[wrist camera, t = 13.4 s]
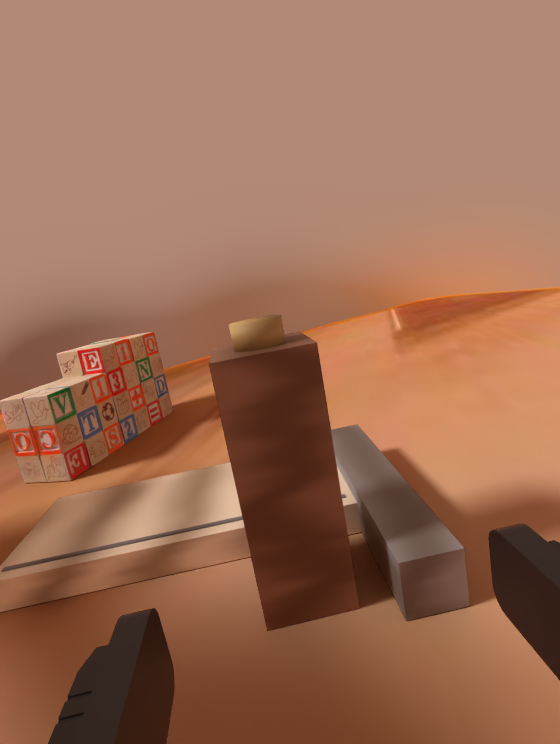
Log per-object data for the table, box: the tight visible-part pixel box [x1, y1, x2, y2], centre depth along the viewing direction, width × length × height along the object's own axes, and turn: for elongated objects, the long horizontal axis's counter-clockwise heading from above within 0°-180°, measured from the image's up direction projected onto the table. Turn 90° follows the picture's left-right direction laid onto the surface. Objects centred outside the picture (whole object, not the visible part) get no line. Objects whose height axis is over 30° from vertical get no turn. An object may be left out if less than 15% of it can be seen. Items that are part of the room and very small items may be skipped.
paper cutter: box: [0, 425, 470, 621], centre depth 26 cm, size 25×17×3 cm
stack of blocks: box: [0, 332, 173, 483], centre depth 52 cm, size 21×6×12 cm, turn 166°
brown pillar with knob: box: [209, 315, 360, 631], centre depth 20 cm, size 4×4×14 cm
